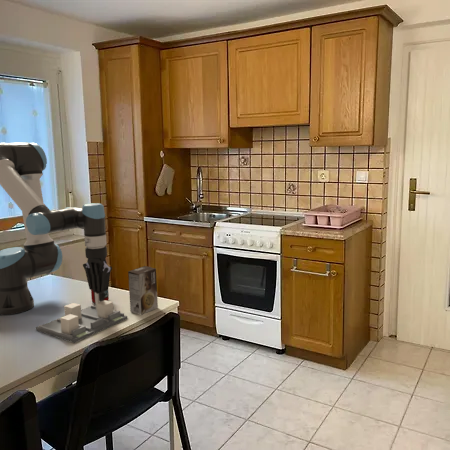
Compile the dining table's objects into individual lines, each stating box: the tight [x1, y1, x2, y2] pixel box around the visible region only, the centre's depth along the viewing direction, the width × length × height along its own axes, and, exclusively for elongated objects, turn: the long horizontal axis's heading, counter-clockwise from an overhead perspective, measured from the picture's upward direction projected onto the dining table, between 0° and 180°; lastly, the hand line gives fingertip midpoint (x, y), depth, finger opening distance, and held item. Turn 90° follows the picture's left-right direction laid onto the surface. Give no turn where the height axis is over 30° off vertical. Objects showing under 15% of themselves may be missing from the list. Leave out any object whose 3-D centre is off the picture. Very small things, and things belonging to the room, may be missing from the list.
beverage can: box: [90, 289, 110, 304], centre depth 183 cm, size 7×7×12 cm
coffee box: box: [127, 265, 159, 316], centre depth 173 cm, size 9×6×16 cm
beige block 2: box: [59, 314, 79, 334], centre depth 152 cm, size 4×4×5 cm
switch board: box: [35, 304, 128, 344], centre depth 161 cm, size 20×24×3 cm
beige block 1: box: [63, 302, 82, 319], centre depth 163 cm, size 4×4×5 cm
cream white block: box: [97, 300, 114, 318], centre depth 165 cm, size 4×4×5 cm
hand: (99, 308), depth 167 cm, fingers closed
